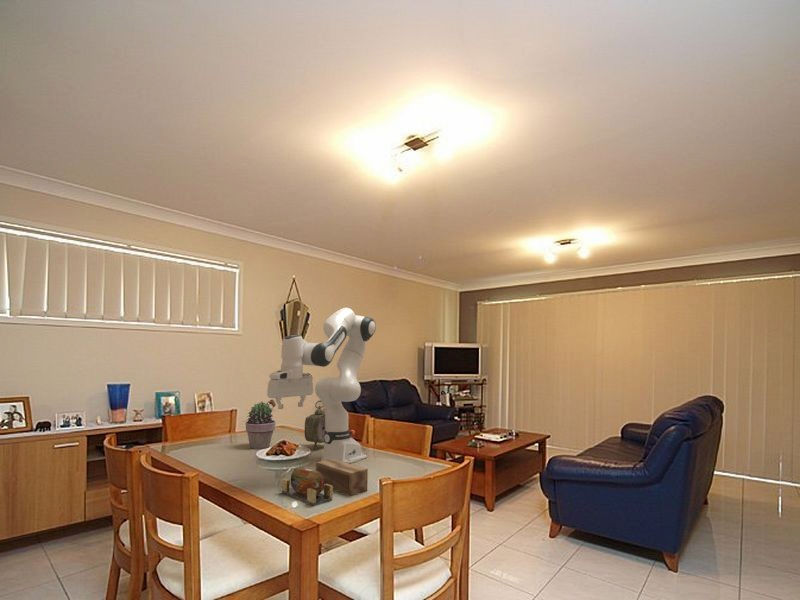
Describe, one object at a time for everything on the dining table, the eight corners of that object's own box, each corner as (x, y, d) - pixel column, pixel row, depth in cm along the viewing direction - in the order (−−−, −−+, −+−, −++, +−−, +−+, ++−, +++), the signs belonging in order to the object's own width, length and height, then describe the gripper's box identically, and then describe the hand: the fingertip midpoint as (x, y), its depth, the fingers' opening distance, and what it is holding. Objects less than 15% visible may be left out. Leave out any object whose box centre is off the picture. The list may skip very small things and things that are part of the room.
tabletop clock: (315, 451, 233) (316, 402, 235) (302, 449, 237) (303, 401, 240) (333, 446, 245) (334, 399, 248) (320, 444, 250) (321, 398, 252)
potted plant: (232, 447, 240) (234, 400, 243) (264, 442, 255) (266, 397, 258) (250, 453, 229) (252, 403, 231) (283, 446, 243) (284, 399, 246)
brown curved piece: (289, 490, 167) (290, 467, 168) (296, 488, 170) (296, 465, 170) (318, 498, 158) (319, 473, 159) (325, 496, 161) (325, 471, 162)
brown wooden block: (331, 478, 185) (331, 458, 186) (367, 490, 170) (367, 468, 171) (314, 483, 179) (315, 462, 180) (350, 495, 164) (350, 473, 165)
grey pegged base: (300, 487, 173) (300, 474, 174) (332, 500, 160) (332, 485, 160) (281, 492, 167) (281, 479, 168) (312, 506, 153) (313, 491, 154)
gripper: (308, 372, 196) (307, 404, 195) (265, 374, 181) (264, 409, 180) (316, 373, 192) (316, 406, 190) (274, 375, 177) (272, 411, 176)
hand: (290, 407), depth 185 cm, fingers open, 8 cm apart
